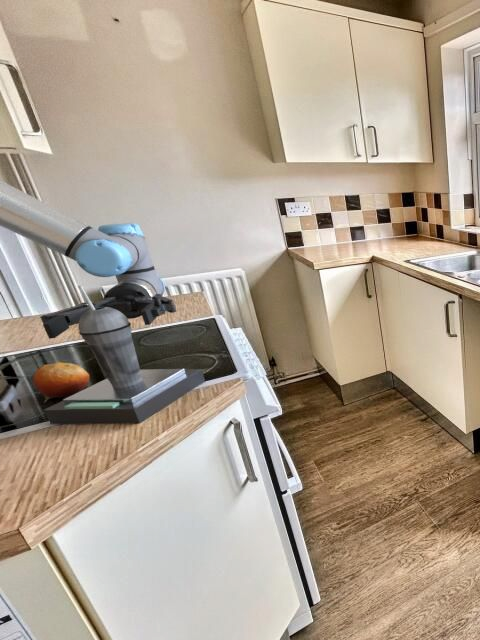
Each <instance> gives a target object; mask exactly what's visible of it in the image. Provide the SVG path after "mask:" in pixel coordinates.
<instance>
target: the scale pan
mask: <svg viewBox="0 0 480 640" xmlns="http://www.w3.org/2000/svg"><path fill="white" fill-rule="evenodd" d="M184 369H185V368H162V369H161V368H159V369H158V368H157V369H156V368H154V369H153V368H152V369H151V368H149V369H140V371H141V377H142V381H141V382H139V383H138V384H135V385H132V386H129V387H125V388H113V387H112V384H111V383H110V382H109V380H108V379H107V378H105V379H103V380H101V381H99V382H96V383H95V384H93V385H90V386H88V387H85V388H84V390H82V391H80V392H78V393H76V394H74V395H72V396H68V397H65V398H63V399H62V401H64V403H65V404H70V403H90V402H119V403H120V404H131V403H134V402H136V401H138V400H140V399H141V398H143V397H145V396H147V395H148V394H150V393H152V392H153V391H155V390H157V389H159V388H160V387H162V386H164V385H166V384H167V383H169V382H171V381H173V380H174V379H176V378H178V377H179V376H181V375H183V374H185V370H184Z"/></svg>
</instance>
